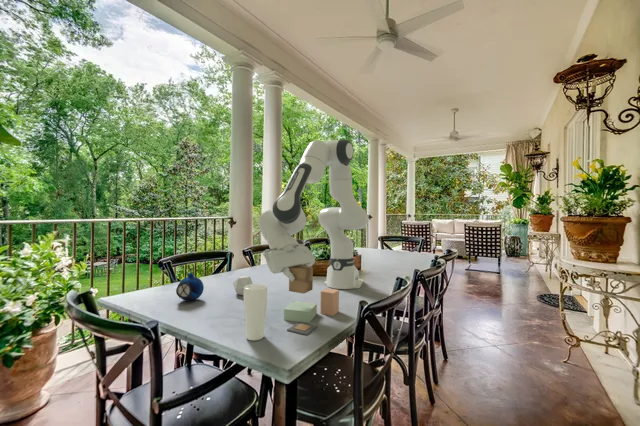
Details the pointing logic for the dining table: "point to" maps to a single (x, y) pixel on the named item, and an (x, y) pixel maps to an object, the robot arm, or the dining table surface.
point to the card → (302, 328)
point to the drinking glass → (255, 310)
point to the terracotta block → (329, 301)
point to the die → (241, 284)
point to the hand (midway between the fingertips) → (302, 278)
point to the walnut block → (301, 279)
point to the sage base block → (300, 312)
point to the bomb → (190, 288)
